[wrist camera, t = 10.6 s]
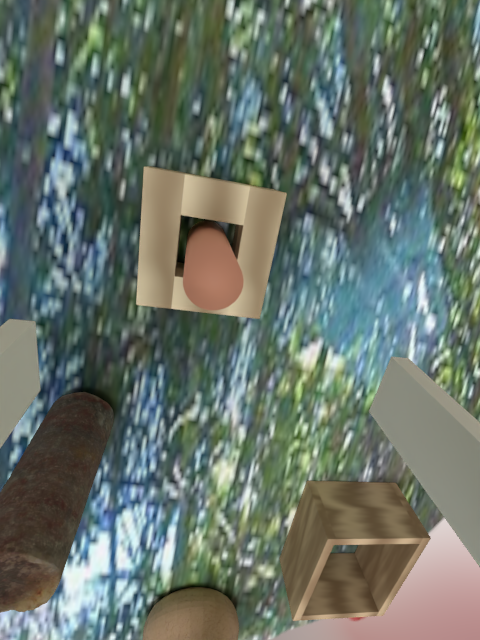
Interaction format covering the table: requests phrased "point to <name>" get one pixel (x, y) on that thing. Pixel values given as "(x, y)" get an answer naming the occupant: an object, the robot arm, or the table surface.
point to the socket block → (213, 204)
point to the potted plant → (192, 616)
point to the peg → (211, 268)
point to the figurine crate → (349, 568)
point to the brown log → (49, 498)
